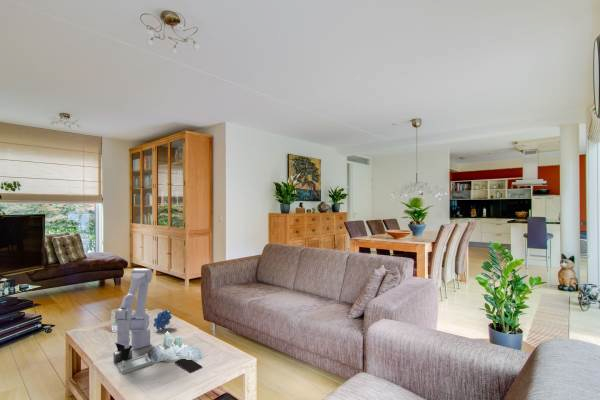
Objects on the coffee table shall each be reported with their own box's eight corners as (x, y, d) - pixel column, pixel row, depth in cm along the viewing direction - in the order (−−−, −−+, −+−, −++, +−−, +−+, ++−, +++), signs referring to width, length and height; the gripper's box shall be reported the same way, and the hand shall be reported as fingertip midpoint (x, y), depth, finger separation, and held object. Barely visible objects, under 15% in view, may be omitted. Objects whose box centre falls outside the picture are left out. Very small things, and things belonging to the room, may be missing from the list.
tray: (146, 357, 167) (146, 349, 167) (152, 363, 161) (152, 356, 161) (117, 366, 158) (117, 358, 158) (122, 374, 151) (122, 365, 151)
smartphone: (190, 372, 152) (173, 361, 162) (190, 375, 152) (173, 363, 162) (203, 366, 158) (186, 356, 167) (203, 368, 158) (186, 358, 167)
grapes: (168, 324, 212) (169, 306, 212) (173, 327, 207) (173, 309, 207) (150, 329, 204) (151, 310, 204) (154, 332, 199) (155, 313, 199)
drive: (130, 356, 169) (130, 347, 169) (132, 359, 166) (132, 349, 166) (113, 361, 163) (113, 351, 163) (115, 364, 160) (115, 354, 160)
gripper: (111, 329, 167) (110, 354, 167) (118, 338, 156) (118, 365, 156) (125, 325, 172) (125, 350, 172) (133, 334, 161) (133, 360, 161)
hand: (123, 357), depth 164 cm, fingers open, 7 cm apart
